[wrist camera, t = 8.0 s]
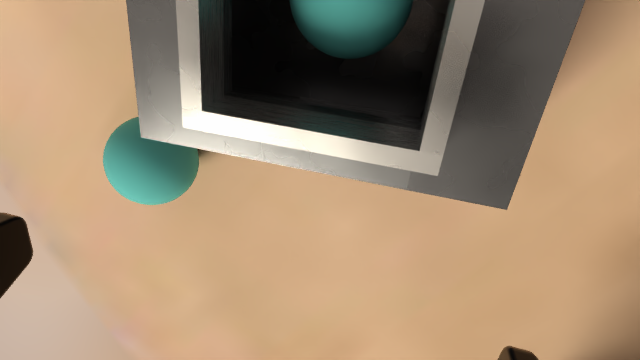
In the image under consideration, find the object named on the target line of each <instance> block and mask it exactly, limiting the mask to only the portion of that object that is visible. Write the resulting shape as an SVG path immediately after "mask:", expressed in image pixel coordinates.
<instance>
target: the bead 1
mask: <svg viewBox="0 0 640 360" xmlns="http://www.w3.org/2000/svg"><path fill="white" fill-rule="evenodd" d="M103 164H104V169H105V173H106V176H107V178H108V180H109V182H110V183H111V185H112V186H113V187H114V188H115V189H116V190H117V191H118V192H119V193H120V194H121V195H122V196H124V197H125V198H127V199H129V200H131V201H134V202H137V203H140V204H147V205H157V204H163V203H167V202H170V201H172V200H174V199H176V198H178V197H179V196H181V195H182V194H183V193H184V192H186V191H187V190H188V188H189V187H190V186H191V185H192V183H193V181H194V179H195V177H196V175H197V171H198V167H199V155H198V150H197V148H192V147H187V146H182V145H177V144H172V143H167V142H162V141H157V140H151V139H146V138H141V134H140V124H139V117H136V118H133V119H131V120H128V121H126V122H125V123H123V124H122V125H120V126H119V127H118V128H117V129H116V130H115V131H114V132H113V133H112V134H111V136H110V138H109V139H108V141H107V143H106V146H105V149H104V155H103Z"/></svg>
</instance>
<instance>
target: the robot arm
mask: <svg viewBox="0 0 640 360" xmlns="http://www.w3.org/2000/svg"><path fill="white" fill-rule="evenodd" d="M32 256H33V248H32V245H31V240H30V236H29V232H28V228H27V224H26V222H25V220H24V219H23V218H21V217H19V216H15V215H11V214H7V213H0V298H1V297H2V296H3V295H4V293H5V292H6V291H7V290H8V289H9V287H10V286H11V285H12V284H13V282H14V281H15V280H16V279H17V278H18V276H19V275H20V274H21V273H22V271H23V270H24V269H25V268H26V267H27V265H28V264H29V262H30V261H31V259H32ZM498 360H538V358H537V357H536V356H535V355H534V354H533V353H532V352H530V351H527V350H523V349H519V348H516V347H512V346H507V347H505V348H504V349H503V350H502V352H501V354H500V356H499V358H498Z"/></svg>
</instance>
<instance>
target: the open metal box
mask: <svg viewBox="0 0 640 360" xmlns="http://www.w3.org/2000/svg"><path fill="white" fill-rule="evenodd" d="M584 2H585V0H413V4H412V8H411V12H410V14H409V17H408V19H407V21H406V23H405V25H404V27H403V29H402V30H401V31H400V33H399V34H398V36H397V37H396V38H395V39H394V40H393V41H392V42H391V43H390V44H388V45H387V46H386V47H385V48H383V49H382V50H380V51H378V52H376V53H374V54H372V55H369V56H366V57H362V58H356V59H344V58H338V57H333V56H331V55H328V54H326V53H324V52H322V51H320V50H318V49H317V48H316V47H314V46H313V45H312V44H311V43H310V42H308V41H307V39H306V38H305V37H304V36H303V35H302V33H301V32H300V30H299V29H298V27H297V25H296V23H295V20H294V18H293V15H292V11H291V7H290V0H126V4H127V13H128V22H129V31H130V41H131V50H132V59H133V69H134V78H135V87H136V96H137V106H138V115H139V124H140V134H141V138H146V139H151V140H157V141H162V142H167V143H172V144H177V145H182V146H187V147H192V148H197V149H202V150H207V151H212V152H217V153H222V154H227V155H232V156H237V157H243V158H248V159H253V160H258V161H263V162H268V163H273V164H278V165H283V166H288V167H293V168H298V169H303V170H308V171H313V172H318V173H323V174H329V175H334V176H339V177H344V178H349V179H354V180H359V181H364V182H369V183H374V184H379V185H384V186H389V187H394V188H399V189H404V190H409V191H415V192H420V193H425V194H430V195H435V196H440V197H445V198H450V199H455V200H460V201H465V202H470V203H475V204H480V205H485V206H490V207H495V208H500V209H506V210H507V208H508V205H509V203H510V200H511V197H512V195H513V192H514V189H515V187H516V184H517V181H518V179H519V176H520V173H521V171H522V168H523V165H524V163H525V160H526V157H527V155H528V152H529V149H530V147H531V144H532V141H533V139H534V136H535V133H536V131H537V128H538V125H539V122H540V120H541V117H542V114H543V112H544V109H545V106H546V104H547V101H548V98H549V96H550V93H551V90H552V88H553V85H554V82H555V80H556V77H557V74H558V72H559V69H560V66H561V64H562V61H563V58H564V56H565V53H566V50H567V48H568V45H569V42H570V40H571V37H572V34H573V32H574V29H575V26H576V24H577V21H578V18H579V16H580V13H581V10H582V8H583V5H584Z"/></svg>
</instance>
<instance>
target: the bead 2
mask: <svg viewBox="0 0 640 360" xmlns="http://www.w3.org/2000/svg"><path fill="white" fill-rule="evenodd" d="M412 4H413V0H290V7H291V11H292V15H293V18H294V20H295V23H296V25H297V27H298V29H299V30H300V32H301V33H302V35H303V36H304V37H305V38H306V39H307V41H308V42H310V43H311V44H312V45H313V46H314V47H316V48H317V49H318V50H320V51H322V52H324V53H326V54H328V55H331V56H333V57H338V58H344V59H356V58H362V57H366V56H369V55H372V54H374V53H376V52H378V51H380V50H382V49H383V48H385V47H386V46H387V45H388V44H390V43H391V42H392V41H393V40H394V39H395V38H396V37H397V36H398V34H399V33H400V31H401V30H402V29H403V27H404V25H405V23H406V21H407V19H408V17H409V14H410V12H411V8H412Z"/></svg>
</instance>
